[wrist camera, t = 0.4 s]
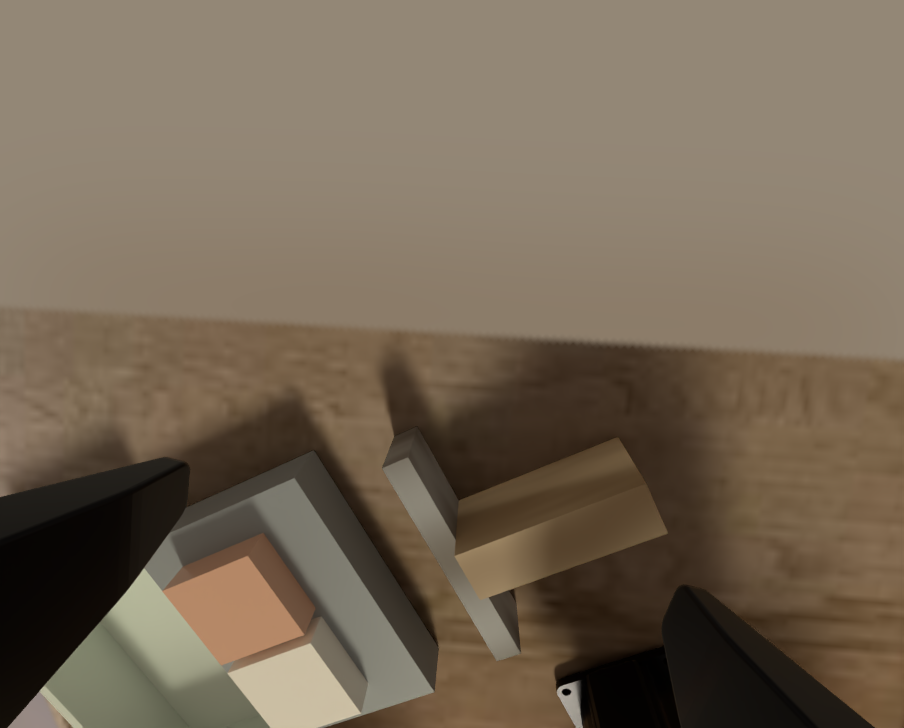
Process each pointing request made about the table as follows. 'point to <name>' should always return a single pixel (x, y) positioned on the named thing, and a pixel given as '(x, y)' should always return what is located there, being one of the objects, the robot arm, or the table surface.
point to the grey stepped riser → (317, 571)
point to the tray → (147, 672)
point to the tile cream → (302, 680)
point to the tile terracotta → (241, 600)
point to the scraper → (522, 524)
